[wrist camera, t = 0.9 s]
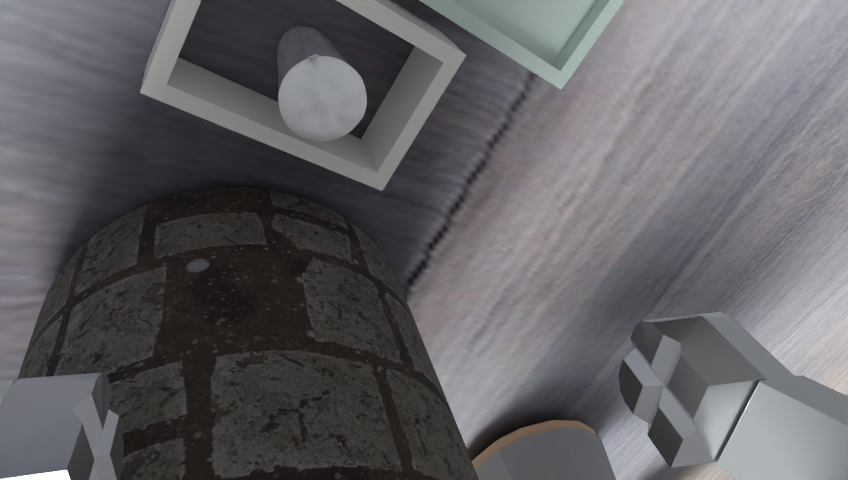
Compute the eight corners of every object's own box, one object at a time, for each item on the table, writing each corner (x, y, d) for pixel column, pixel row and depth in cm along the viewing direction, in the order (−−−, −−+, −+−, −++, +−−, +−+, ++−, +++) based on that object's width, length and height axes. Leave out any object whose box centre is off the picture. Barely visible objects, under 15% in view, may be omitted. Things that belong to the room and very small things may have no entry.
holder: (147, 61, 34) (139, 92, 30) (213, -108, 30) (214, -96, 27) (366, 156, 42) (382, 191, 38) (440, 30, 38) (466, 55, 34)
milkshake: (327, -8, 35) (361, 43, 27) (346, 76, 38) (382, 144, 30) (251, 9, 34) (265, 67, 27) (278, 94, 38) (296, 167, 30)
